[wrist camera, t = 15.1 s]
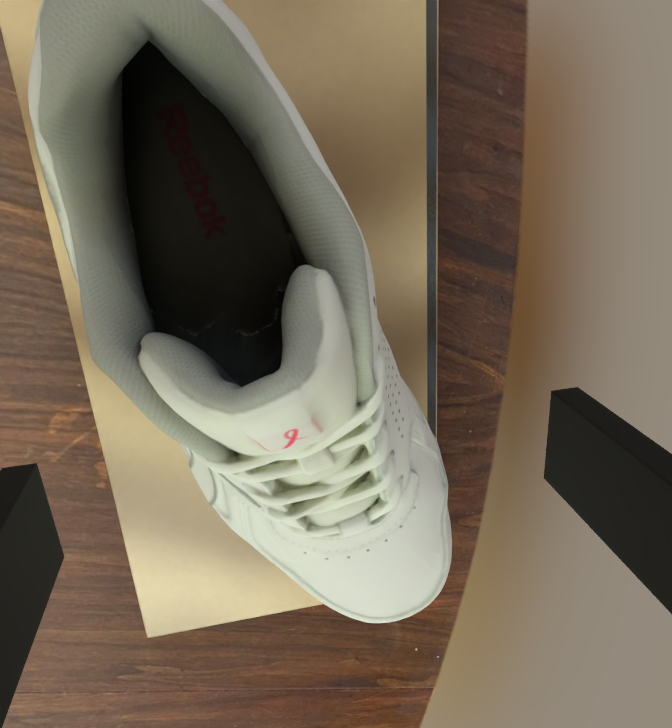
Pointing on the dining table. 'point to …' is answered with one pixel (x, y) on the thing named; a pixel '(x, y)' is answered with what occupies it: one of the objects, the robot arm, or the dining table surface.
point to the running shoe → (237, 295)
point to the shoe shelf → (387, 255)
